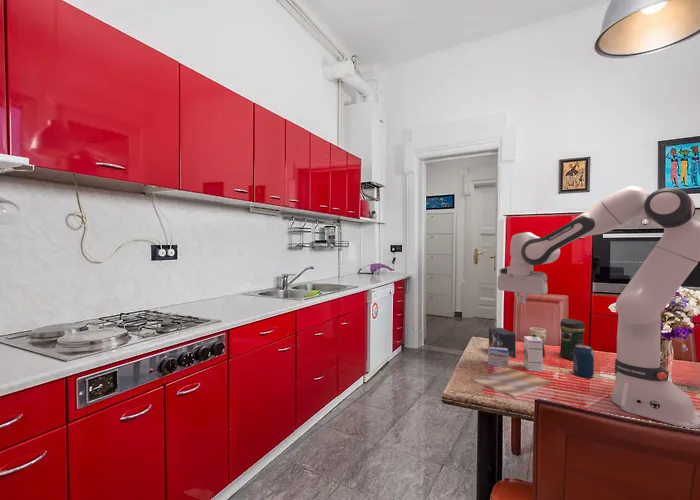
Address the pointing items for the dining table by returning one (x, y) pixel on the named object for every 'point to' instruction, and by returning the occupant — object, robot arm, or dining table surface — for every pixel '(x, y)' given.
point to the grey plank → (512, 382)
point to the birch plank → (498, 386)
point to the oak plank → (524, 377)
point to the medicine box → (498, 356)
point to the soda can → (583, 361)
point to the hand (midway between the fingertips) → (521, 303)
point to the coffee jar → (570, 336)
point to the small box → (502, 340)
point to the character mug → (539, 335)
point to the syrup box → (533, 353)
